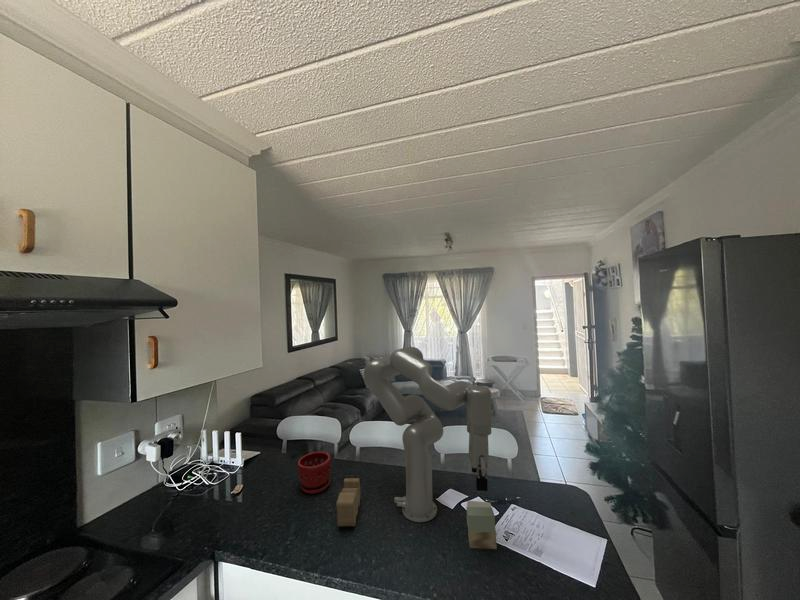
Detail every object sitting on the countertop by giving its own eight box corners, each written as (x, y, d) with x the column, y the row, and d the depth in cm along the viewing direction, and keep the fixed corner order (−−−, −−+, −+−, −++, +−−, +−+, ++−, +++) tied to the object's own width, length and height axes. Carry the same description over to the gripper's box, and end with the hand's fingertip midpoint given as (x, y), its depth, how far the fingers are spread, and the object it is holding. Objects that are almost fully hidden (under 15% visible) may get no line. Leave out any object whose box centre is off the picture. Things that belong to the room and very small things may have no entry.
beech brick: (470, 548, 95) (469, 531, 95) (468, 538, 99) (467, 522, 99) (496, 549, 94) (496, 532, 94) (493, 539, 98) (493, 523, 98)
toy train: (360, 500, 119) (360, 474, 119) (353, 533, 102) (352, 502, 102) (346, 500, 119) (345, 474, 119) (336, 533, 102) (336, 502, 102)
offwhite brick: (468, 522, 106) (467, 507, 106) (467, 514, 110) (467, 500, 110) (492, 524, 105) (491, 509, 105) (490, 516, 109) (490, 502, 109)
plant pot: (317, 475, 137) (316, 448, 138) (337, 485, 130) (337, 456, 130) (291, 490, 127) (291, 460, 127) (312, 501, 119) (311, 470, 119)
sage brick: (468, 531, 95) (468, 515, 95) (466, 522, 99) (466, 506, 99) (495, 532, 94) (494, 515, 94) (492, 523, 98) (491, 507, 98)
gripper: (463, 416, 106) (464, 465, 106) (470, 438, 89) (470, 497, 89) (486, 416, 105) (486, 466, 105) (497, 439, 88) (497, 499, 88)
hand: (479, 480), depth 97 cm, fingers open, 9 cm apart
